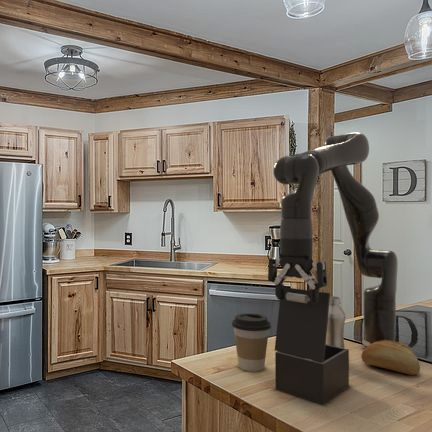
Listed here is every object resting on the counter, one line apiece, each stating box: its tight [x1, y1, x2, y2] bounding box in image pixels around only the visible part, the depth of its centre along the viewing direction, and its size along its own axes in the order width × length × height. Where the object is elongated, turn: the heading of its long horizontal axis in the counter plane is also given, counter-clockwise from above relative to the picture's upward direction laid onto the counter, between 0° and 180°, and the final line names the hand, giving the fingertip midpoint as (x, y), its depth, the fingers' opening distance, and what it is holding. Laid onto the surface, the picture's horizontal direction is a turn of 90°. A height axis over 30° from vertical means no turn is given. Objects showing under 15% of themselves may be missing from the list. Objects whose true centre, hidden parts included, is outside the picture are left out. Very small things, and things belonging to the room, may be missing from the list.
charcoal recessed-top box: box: [274, 345, 350, 406], centre depth 113 cm, size 16×13×10 cm
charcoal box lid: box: [274, 286, 331, 362], centre depth 107 cm, size 16×13×5 cm
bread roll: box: [361, 340, 421, 376], centre depth 125 cm, size 10×15×8 cm, turn 51°
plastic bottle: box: [326, 295, 346, 349], centre depth 131 cm, size 6×7×20 cm
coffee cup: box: [231, 312, 272, 373], centre depth 128 cm, size 11×11×15 cm
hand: (296, 301), depth 106 cm, fingers open, 8 cm apart
